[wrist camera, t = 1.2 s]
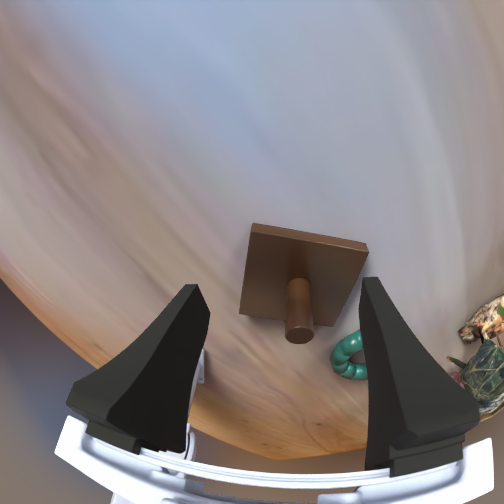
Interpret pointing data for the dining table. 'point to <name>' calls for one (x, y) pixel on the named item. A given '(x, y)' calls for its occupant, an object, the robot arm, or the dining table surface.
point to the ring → (343, 354)
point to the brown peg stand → (299, 278)
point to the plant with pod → (485, 357)
